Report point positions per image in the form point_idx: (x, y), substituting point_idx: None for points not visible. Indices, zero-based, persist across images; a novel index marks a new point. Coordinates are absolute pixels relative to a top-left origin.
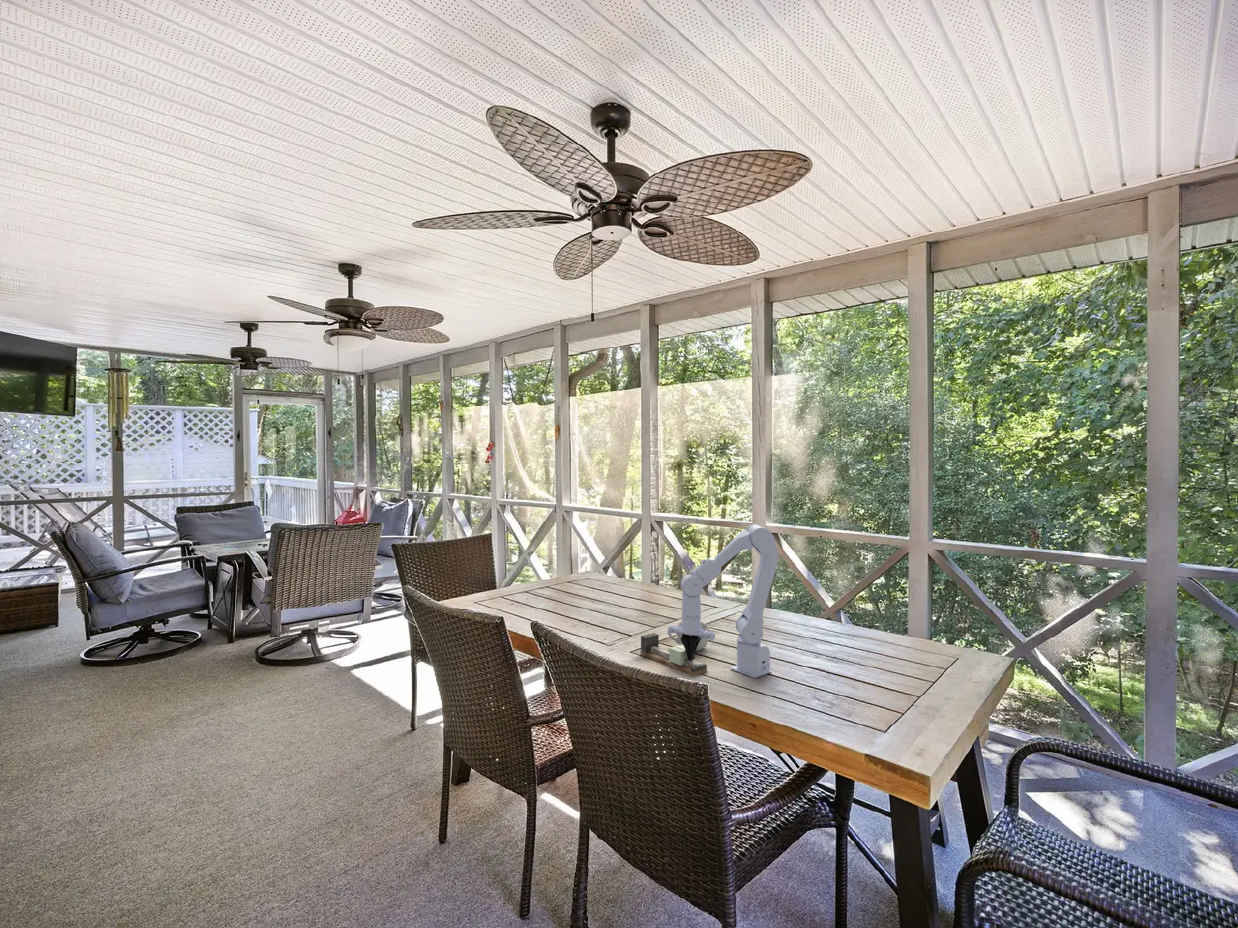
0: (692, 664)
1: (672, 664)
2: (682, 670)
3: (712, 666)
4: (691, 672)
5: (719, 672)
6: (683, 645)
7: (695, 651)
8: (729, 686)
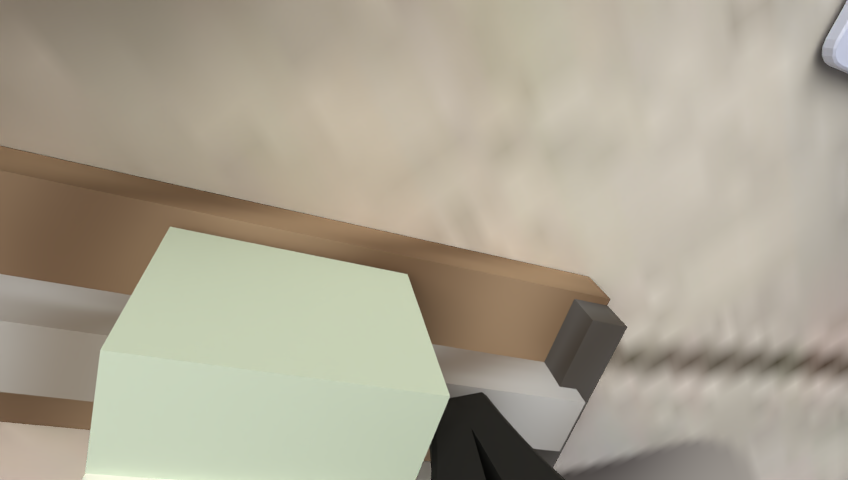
0: None
1: None
2: None
3: (596, 92)
4: None
5: (708, 215)
6: (178, 374)
7: (538, 463)
8: (821, 415)
